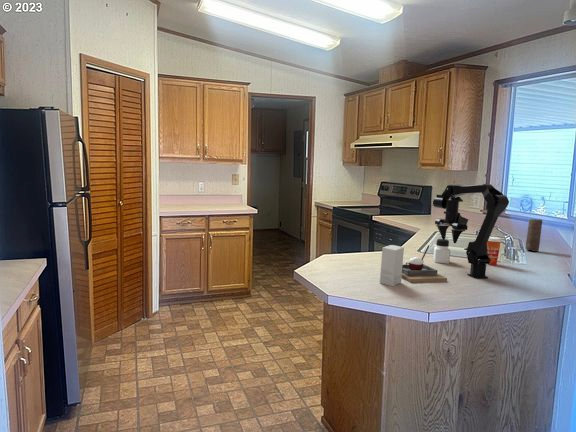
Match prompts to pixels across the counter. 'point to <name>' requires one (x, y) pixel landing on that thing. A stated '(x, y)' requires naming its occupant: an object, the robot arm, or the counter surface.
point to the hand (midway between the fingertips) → (449, 241)
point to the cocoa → (416, 262)
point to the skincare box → (391, 265)
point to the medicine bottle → (442, 251)
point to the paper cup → (493, 249)
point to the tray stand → (421, 275)
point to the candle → (533, 234)
